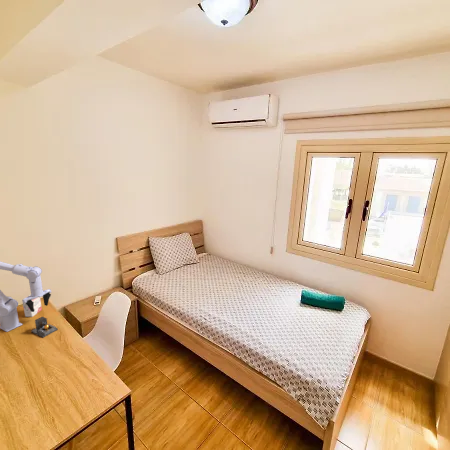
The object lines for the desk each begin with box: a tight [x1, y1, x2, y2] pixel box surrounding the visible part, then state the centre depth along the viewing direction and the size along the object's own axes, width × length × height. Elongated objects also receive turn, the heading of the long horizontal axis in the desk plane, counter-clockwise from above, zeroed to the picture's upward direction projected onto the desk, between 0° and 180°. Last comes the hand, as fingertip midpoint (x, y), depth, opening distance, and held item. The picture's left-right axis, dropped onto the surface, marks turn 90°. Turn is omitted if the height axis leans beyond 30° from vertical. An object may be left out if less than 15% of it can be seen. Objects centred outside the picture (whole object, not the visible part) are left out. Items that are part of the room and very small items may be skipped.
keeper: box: [30, 323, 59, 338], centre depth 143 cm, size 11×8×4 cm
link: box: [34, 316, 57, 335], centre depth 142 cm, size 10×6×6 cm, turn 65°
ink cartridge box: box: [21, 294, 43, 318], centre depth 160 cm, size 9×5×15 cm, turn 179°
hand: (39, 308), depth 149 cm, fingers open, 7 cm apart
